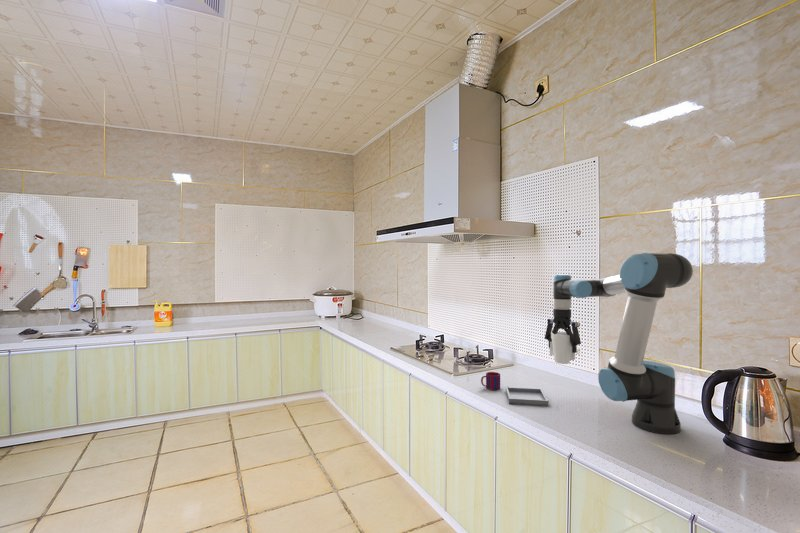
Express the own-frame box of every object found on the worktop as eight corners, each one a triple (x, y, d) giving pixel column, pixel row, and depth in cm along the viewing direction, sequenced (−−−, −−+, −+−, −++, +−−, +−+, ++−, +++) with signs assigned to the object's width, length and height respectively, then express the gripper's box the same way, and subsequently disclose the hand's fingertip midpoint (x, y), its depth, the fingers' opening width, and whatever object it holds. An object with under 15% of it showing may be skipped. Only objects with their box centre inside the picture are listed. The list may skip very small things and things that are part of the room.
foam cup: (566, 365, 171) (566, 336, 171) (547, 361, 178) (547, 333, 178) (577, 362, 177) (577, 333, 177) (558, 358, 184) (558, 331, 184)
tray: (548, 406, 164) (548, 400, 164) (509, 403, 167) (509, 398, 167) (541, 393, 180) (541, 388, 179) (505, 391, 182) (505, 386, 182)
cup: (502, 389, 186) (502, 375, 186) (484, 391, 183) (484, 376, 183) (495, 385, 192) (495, 371, 192) (477, 387, 189) (477, 373, 189)
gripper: (590, 310, 170) (590, 361, 170) (546, 305, 188) (546, 351, 189) (580, 311, 166) (580, 363, 166) (536, 306, 184) (536, 353, 184)
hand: (562, 357), depth 177 cm, fingers closed on foam cup, 9 cm apart
